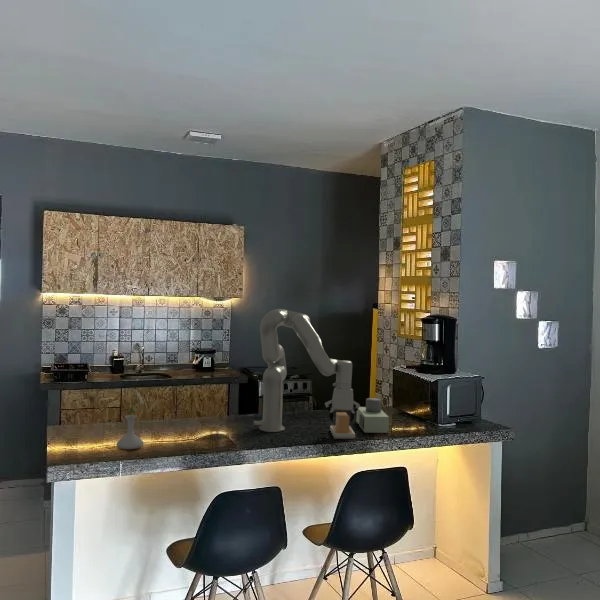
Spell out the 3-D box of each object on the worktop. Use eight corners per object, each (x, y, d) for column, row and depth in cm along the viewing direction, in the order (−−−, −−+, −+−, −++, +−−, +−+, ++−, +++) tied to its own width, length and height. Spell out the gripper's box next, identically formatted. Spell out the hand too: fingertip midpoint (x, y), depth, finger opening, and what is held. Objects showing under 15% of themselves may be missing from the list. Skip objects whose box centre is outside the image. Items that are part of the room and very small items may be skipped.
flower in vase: (134, 452, 253) (136, 393, 252) (110, 449, 256) (112, 391, 255) (150, 445, 265) (152, 388, 265) (127, 442, 268) (129, 386, 268)
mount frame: (334, 438, 287) (334, 433, 287) (329, 430, 303) (330, 425, 303) (355, 438, 288) (355, 433, 288) (349, 430, 304) (349, 425, 303)
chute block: (338, 435, 289) (339, 417, 289) (335, 430, 300) (336, 412, 300) (348, 435, 290) (349, 417, 290) (345, 430, 301) (346, 412, 301)
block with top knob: (363, 432, 301) (364, 404, 301) (355, 421, 325) (356, 395, 325) (388, 432, 302) (389, 404, 302) (378, 421, 326) (379, 396, 326)
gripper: (326, 386, 290) (324, 421, 291) (362, 388, 292) (360, 423, 292) (324, 383, 298) (323, 418, 298) (359, 385, 299) (357, 419, 300)
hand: (341, 420), depth 295 cm, fingers open, 9 cm apart
